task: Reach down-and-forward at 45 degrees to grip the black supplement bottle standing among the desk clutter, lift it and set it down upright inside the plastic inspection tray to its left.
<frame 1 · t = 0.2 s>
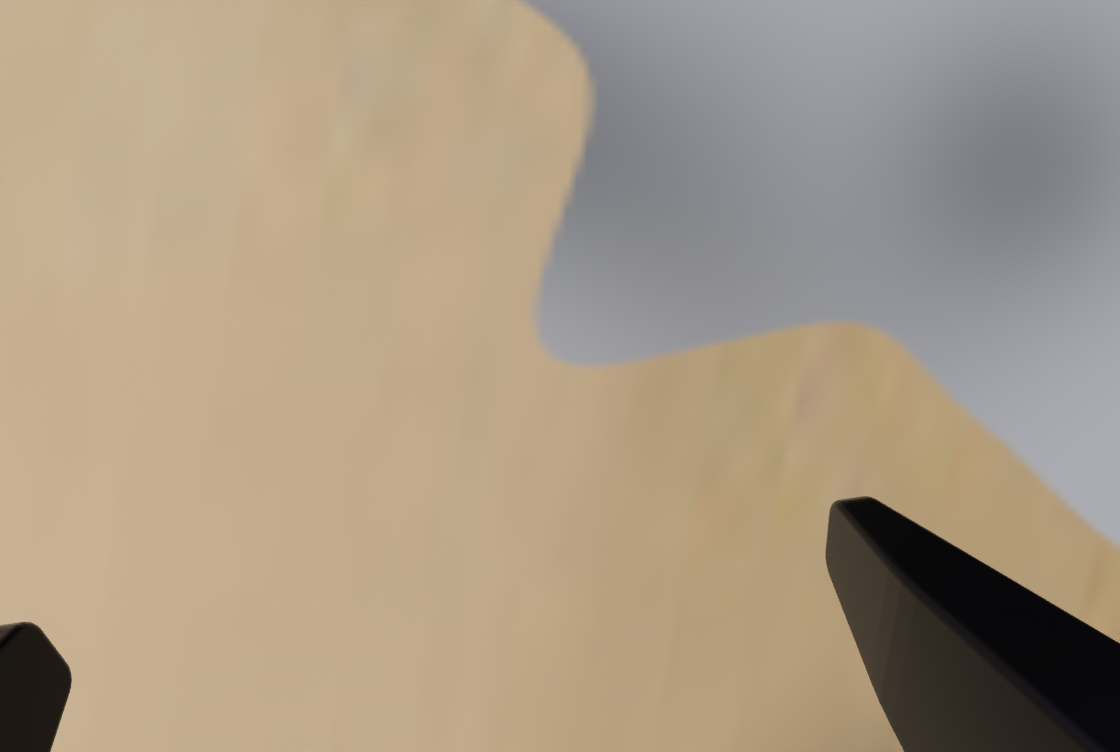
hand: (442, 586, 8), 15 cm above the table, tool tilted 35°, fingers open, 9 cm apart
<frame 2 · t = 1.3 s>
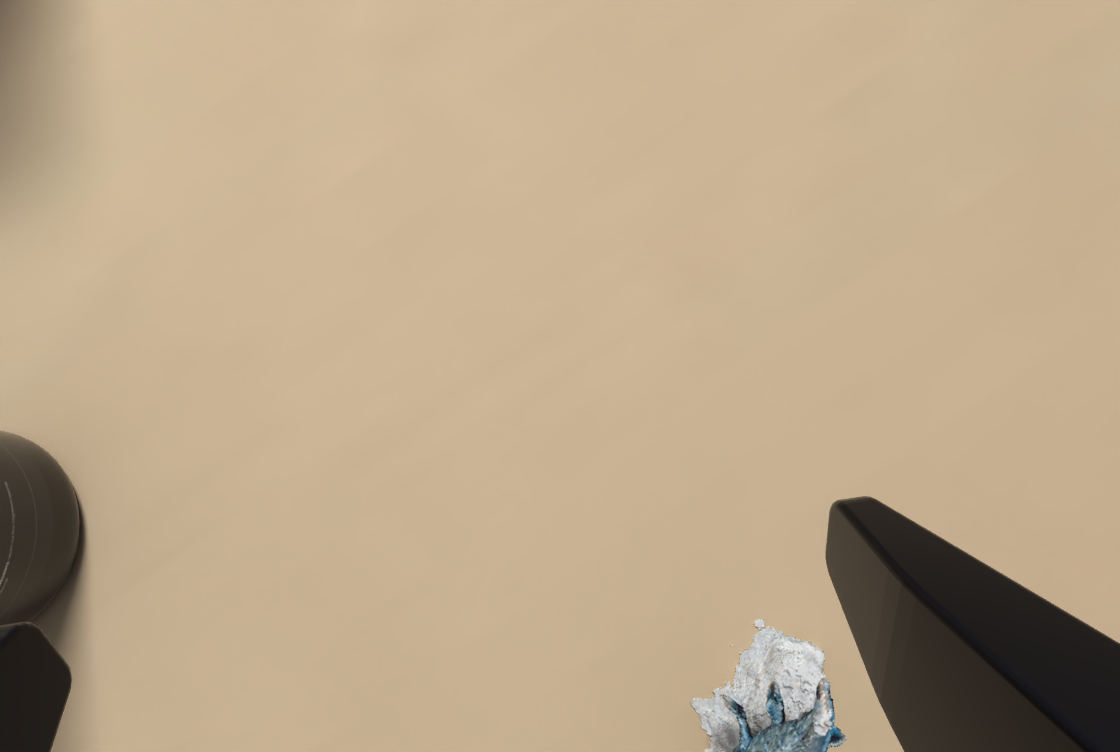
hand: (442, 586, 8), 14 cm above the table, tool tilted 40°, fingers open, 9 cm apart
sculpture: (755, 699, 21), on the table
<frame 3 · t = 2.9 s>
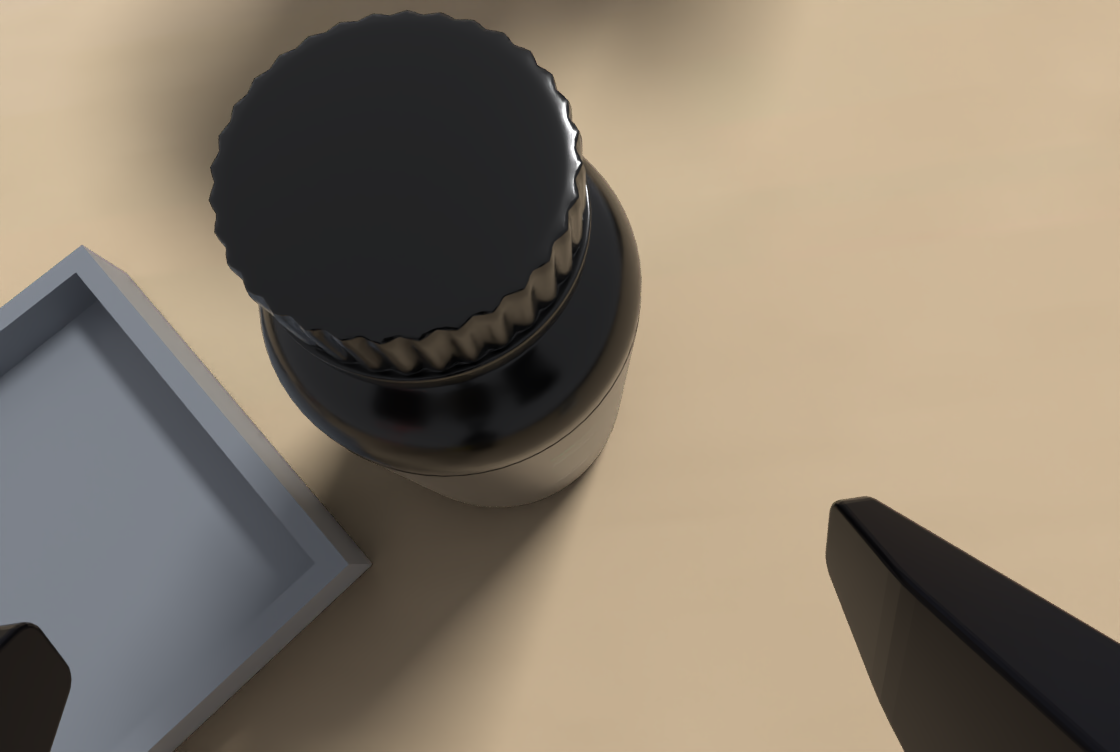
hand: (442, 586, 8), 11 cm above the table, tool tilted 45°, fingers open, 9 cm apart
supplement bottle: (503, 393, 20), on the table
tray: (69, 557, 19), on the table
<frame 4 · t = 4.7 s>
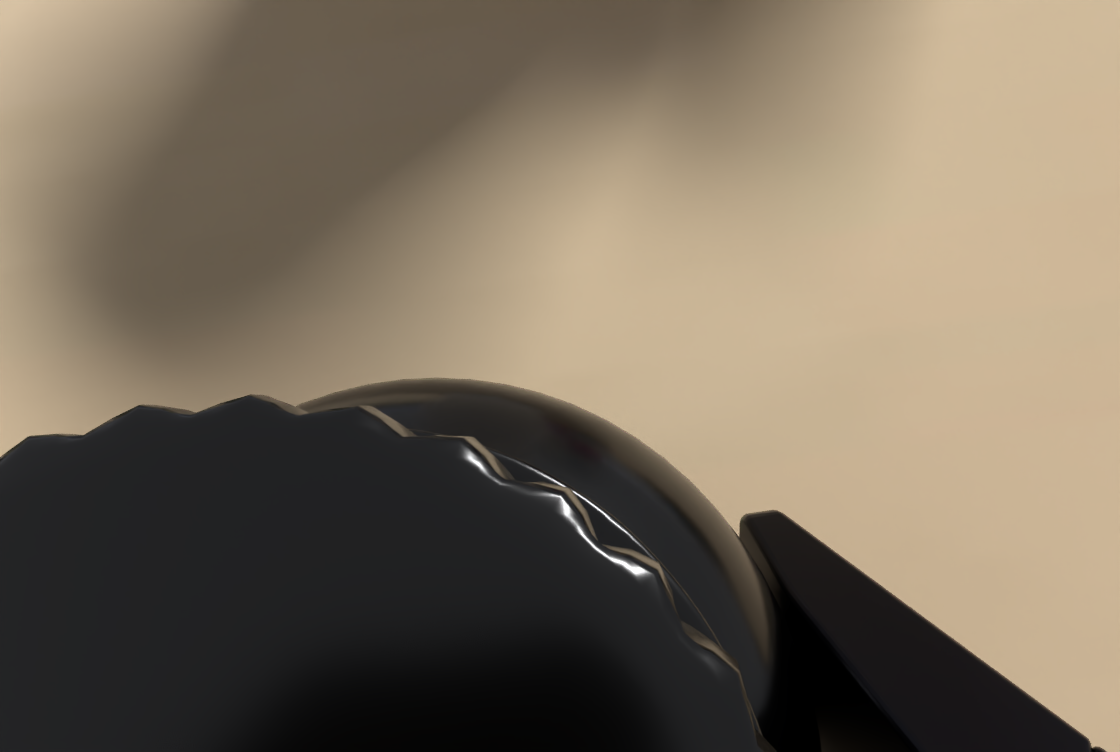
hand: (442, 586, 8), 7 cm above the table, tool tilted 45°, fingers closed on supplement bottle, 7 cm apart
supplement bottle: (514, 642, 14), on the table, touching gripper
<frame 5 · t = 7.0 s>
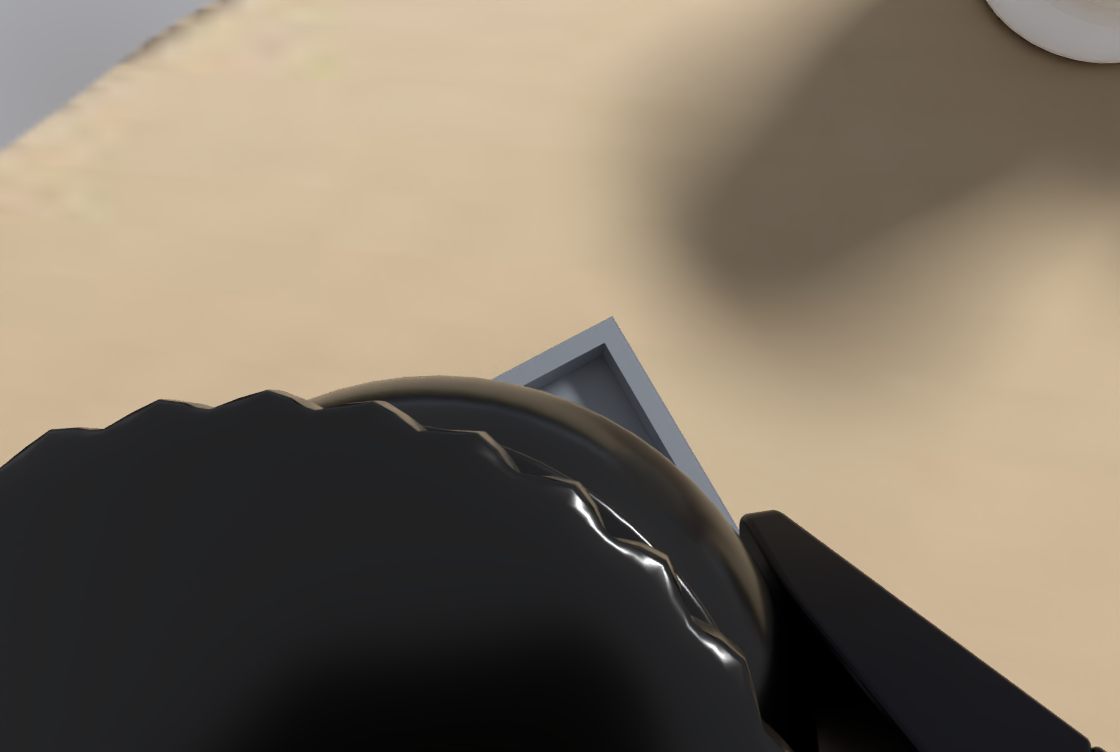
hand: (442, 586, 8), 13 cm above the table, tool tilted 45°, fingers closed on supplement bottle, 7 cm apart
supplement bottle: (511, 640, 14), point 6 cm above the table, touching gripper
tray: (530, 606, 20), on the table
when the fingers open (8 cm above the table, at t = 8.3 s): supplement bottle stays where it is, resting on tray.
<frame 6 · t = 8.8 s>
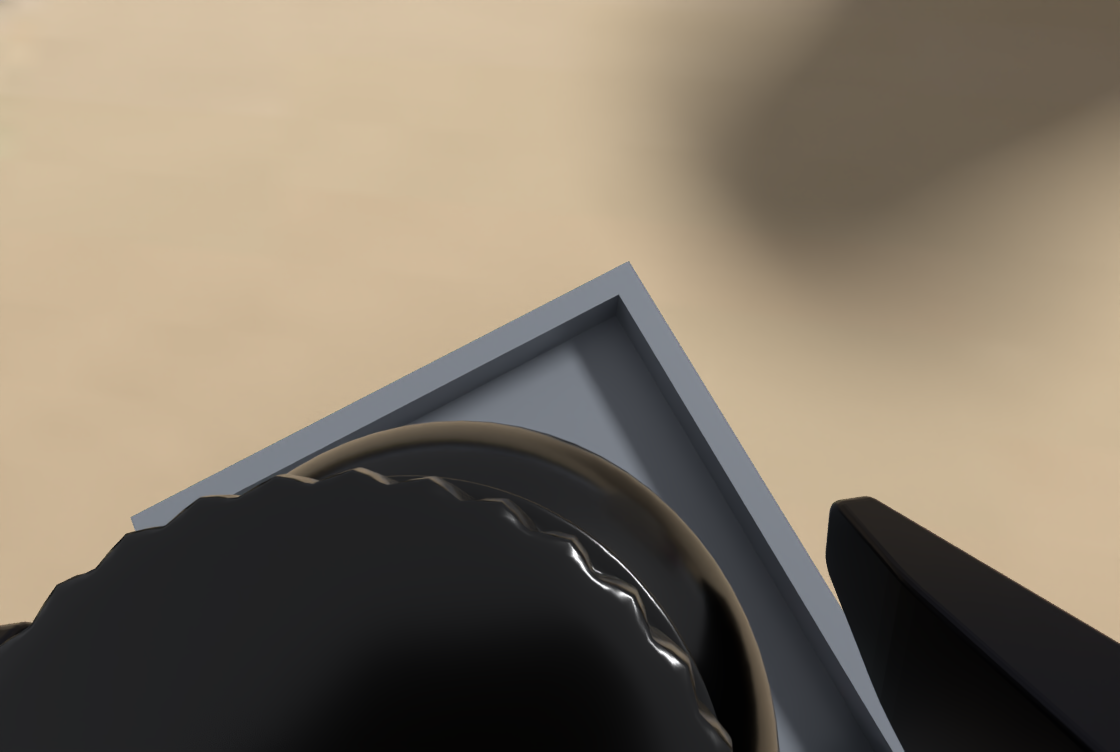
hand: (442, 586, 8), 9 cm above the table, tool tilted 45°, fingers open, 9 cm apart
supplement bottle: (519, 644, 15), resting on tray
tray: (522, 632, 16), on the table
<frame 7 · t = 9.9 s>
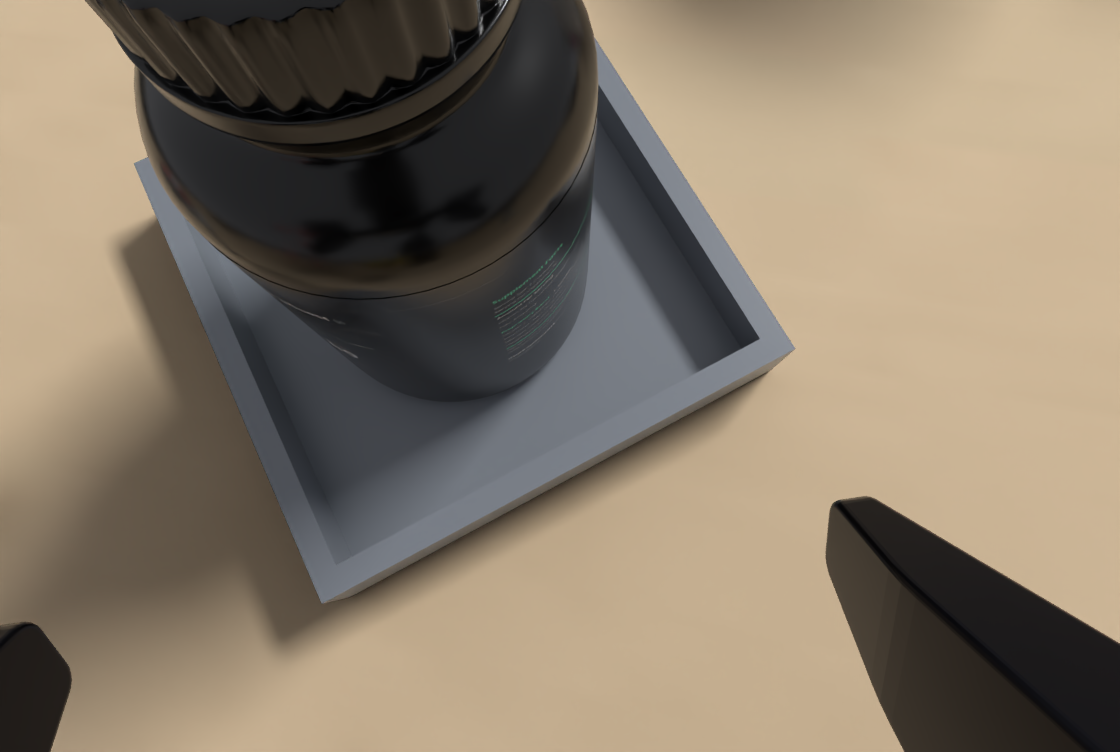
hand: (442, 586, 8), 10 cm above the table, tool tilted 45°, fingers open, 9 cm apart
supplement bottle: (459, 283, 18), resting on tray
tray: (462, 282, 19), on the table
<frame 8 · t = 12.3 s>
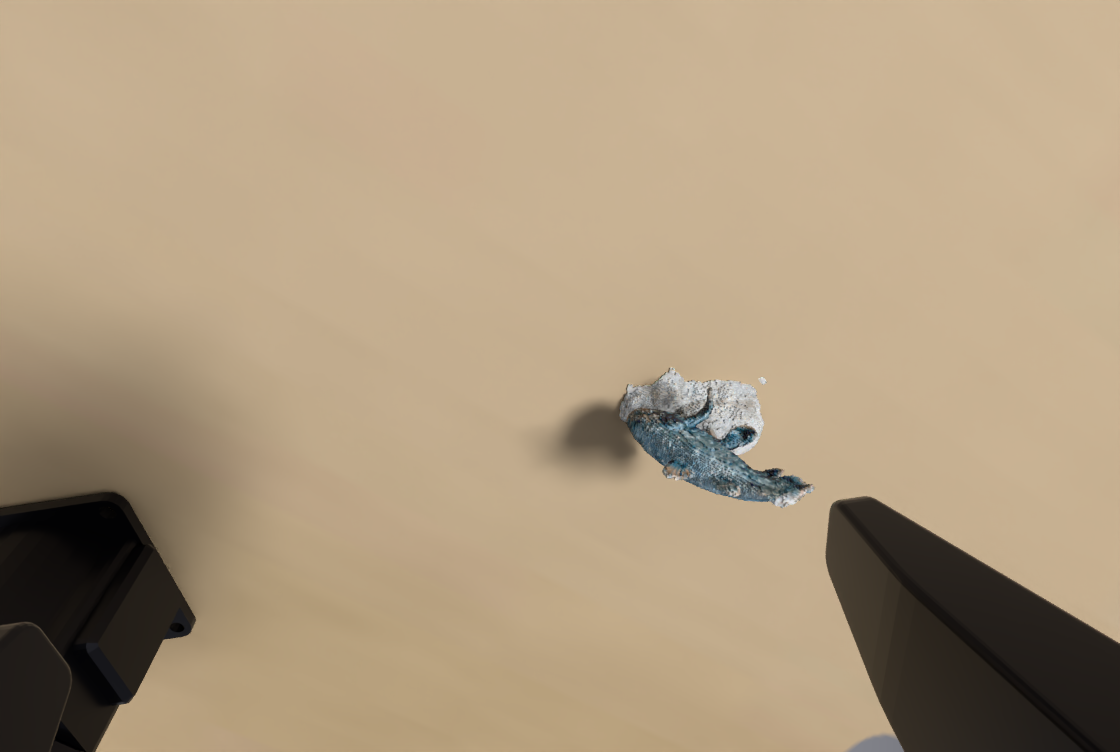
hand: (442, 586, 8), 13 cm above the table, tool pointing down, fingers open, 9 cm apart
sculpture: (687, 395, 23), on the table
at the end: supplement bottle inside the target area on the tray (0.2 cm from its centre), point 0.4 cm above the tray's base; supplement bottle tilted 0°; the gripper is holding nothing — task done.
